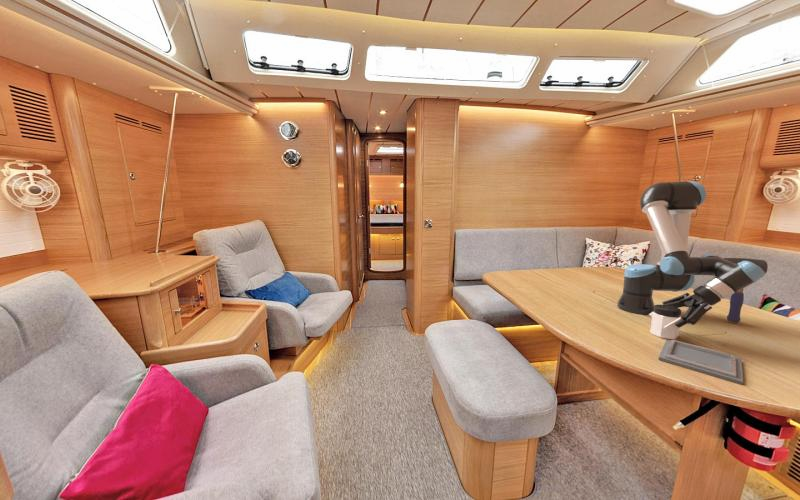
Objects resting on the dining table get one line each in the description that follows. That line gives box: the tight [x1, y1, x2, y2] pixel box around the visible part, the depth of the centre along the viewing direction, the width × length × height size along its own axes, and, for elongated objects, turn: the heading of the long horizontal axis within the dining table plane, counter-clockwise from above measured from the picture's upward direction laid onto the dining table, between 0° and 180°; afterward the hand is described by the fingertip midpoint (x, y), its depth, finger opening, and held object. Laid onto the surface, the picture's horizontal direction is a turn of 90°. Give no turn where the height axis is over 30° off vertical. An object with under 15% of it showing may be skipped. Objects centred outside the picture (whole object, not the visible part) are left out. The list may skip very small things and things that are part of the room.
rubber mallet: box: [722, 257, 769, 324], centre depth 124 cm, size 12×8×30 cm, turn 56°
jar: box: [649, 304, 682, 340], centre depth 116 cm, size 9×8×12 cm
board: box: [658, 339, 744, 385], centre depth 98 cm, size 19×19×1 cm
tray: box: [665, 339, 736, 377], centre depth 97 cm, size 16×16×1 cm
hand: (658, 323), depth 117 cm, fingers open, 13 cm apart
